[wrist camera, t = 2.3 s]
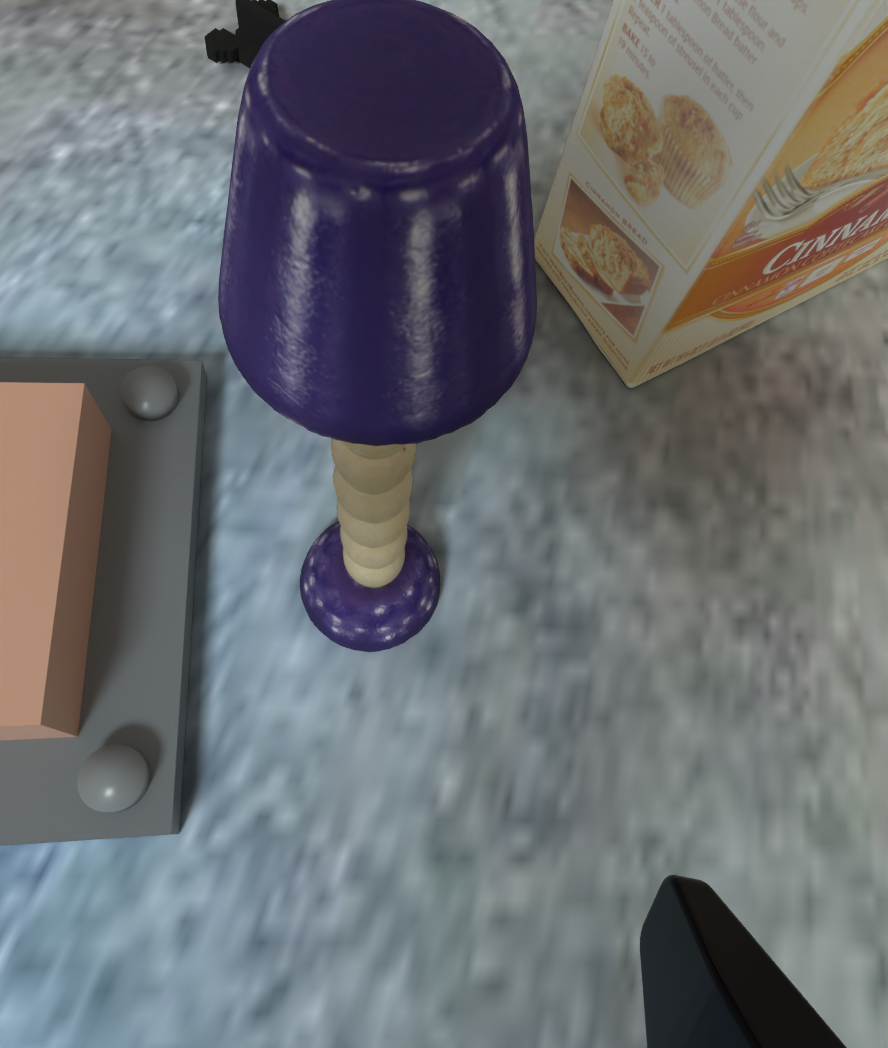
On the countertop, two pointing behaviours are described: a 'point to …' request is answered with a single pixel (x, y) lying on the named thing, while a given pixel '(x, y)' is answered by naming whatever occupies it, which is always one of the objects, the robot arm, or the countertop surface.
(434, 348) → the toy lamp
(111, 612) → the tower base
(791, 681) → the countertop surface
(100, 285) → the countertop surface
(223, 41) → the block figure
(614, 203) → the coffeecake box
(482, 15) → the countertop surface
